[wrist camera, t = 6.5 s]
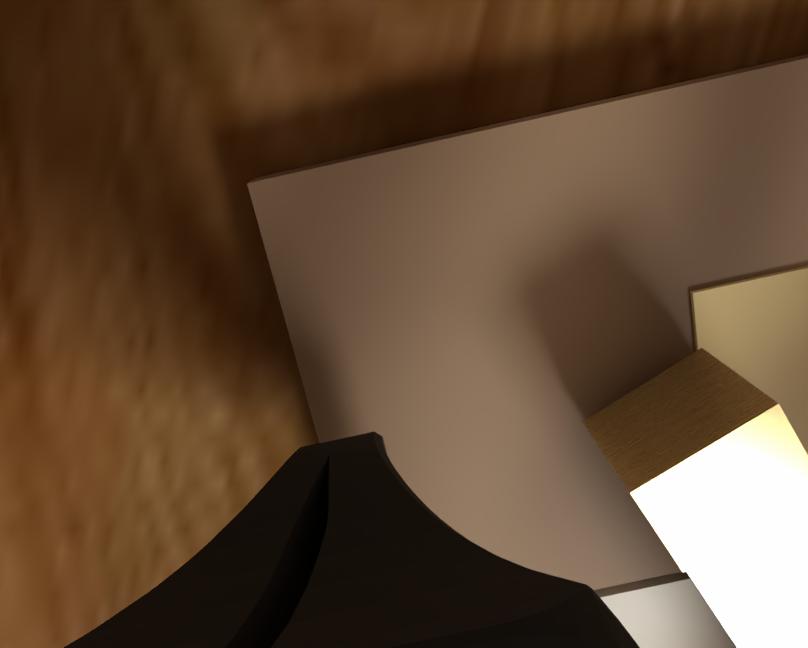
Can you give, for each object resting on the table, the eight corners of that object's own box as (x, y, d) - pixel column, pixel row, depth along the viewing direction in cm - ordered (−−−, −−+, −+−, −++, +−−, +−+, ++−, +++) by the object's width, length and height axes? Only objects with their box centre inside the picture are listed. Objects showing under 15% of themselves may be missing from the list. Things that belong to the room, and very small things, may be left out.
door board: (1141, -21, 12) (1415, -67, 9) (1069, 753, 17) (1226, 898, 14) (256, 177, 12) (218, 201, 9) (448, 879, 17) (465, 1049, 14)
